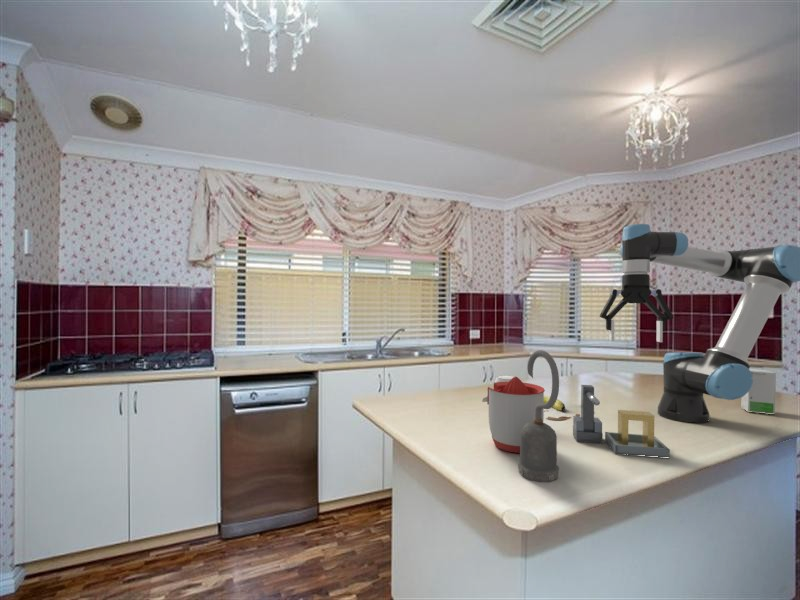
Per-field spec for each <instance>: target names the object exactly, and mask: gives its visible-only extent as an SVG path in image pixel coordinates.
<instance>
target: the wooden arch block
mask: <svg viewBox="0 0 800 600" xmlns="http://www.w3.org/2000/svg"><path fill="white" fill-rule="evenodd" d="M629 421H637V422H639V421H640V422H642V435H643V446H645V447H654V436H655V415H654V414H653V413H651V412H650V411H641V410H640V411H639V410H628V409H627V410H626V409H617V433H618V444H621V445H628V434H629Z"/></svg>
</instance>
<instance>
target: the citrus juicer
mask: <svg viewBox="0 0 800 600" xmlns="http://www.w3.org/2000/svg"><path fill="white" fill-rule="evenodd" d="M545 391H546V390H545V388H544V387H542V386H540V385H537V384H533V383H530V382H529V383H528V382H523V381H522V379H520V378H519V377H518V376H516V377H513V378H512V379H511V380H510V381H509V382H496V383H495V382H493V388H492V387H490V386H487V395H486V396H485V397H483V398H482V400H481V402H482V403H486V402H487V405H488V423H489V424H488V425H489V431H490V435H491V438H492V441H493V443H494V446H495V447H497V448H498V449H499V450H503V451H506V452H509V453H517V454H520V432H521V429H522V427H523V426H525V425H526V424H527V423H530V422H534V418H535V408H536V406H537V405H538V404H542V403H544V396H545V393H544V392H545ZM544 411H545V409H542V421H543V422H544V416H545V414H544V413H545V412H544Z"/></svg>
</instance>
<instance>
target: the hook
mask: <svg viewBox="0 0 800 600" xmlns="http://www.w3.org/2000/svg"><path fill="white" fill-rule="evenodd" d="M539 357H541V358H542V357H543V358H544V359H545V361H546V362H547V363H548V365H549V368H550V370H551V371H550V372H551V393H550V396H549V397H550V399H549V401H548V402H547V403H542V404H538V405H537V406H536V408H535V418H534V422H530V423H527V424H526V425H525V426H523V427H522V429H521V432H520V453H519V460H518V461H517V466H518V467H517V468H518V473H519V474H520V475H521V476H522V477H524V478H526V479H528V480H530V481H531V480H532V481H535V482H540V483H541V482H543V483H546V482H553V481H555V480H556V479H558V478H559V477H558V476H559V471H560V467H559V466H558V464H557V459H558V456H557V455H558V454H557V453H558V450H557V446H558V443H557V442H558V441H557V440H558V438H557V437H558V436H557V433H556V431H555V429H554V428H552V426H551V425H549V424H547V423H545V422H544V420H543V421H542V409H544V410H551V409H552V407H553V406H554V404H555V402H556V400H557V399H558V397H559V391H560V390H559V389H560V375H559V369H558V366H557V363H556V361H555V360H554V358H553V356H552V355H551V354H550V353H549V352H548V351H545V350H541V349H540V350H539V349H538V350H536V351H534V352H533V353H532V354H531V355H530V357H529V358H528V361H527V368H526V369H527V370H526V371H527V374H528V375H529V376H530V377H531V378H532V379H533V378H534V375H533V374H534V364H535V361H536V360H537V358H539Z"/></svg>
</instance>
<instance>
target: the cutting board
mask: <svg viewBox="0 0 800 600" xmlns="http://www.w3.org/2000/svg"><path fill="white" fill-rule="evenodd" d="M549 399H550V396H549V395H544V403H547V402H548V401H549ZM552 408H553V409H555V410H556V411H558V412H562V411H564V410H565V403H563V401H562V400H560V399H558V398H557V400H556V402H555V404H554V406H553V407H552ZM552 408H551V412H553V409H552ZM546 412H548V409H544V413H546ZM574 416H580V417H581V413H576V414H575V415H574ZM545 419H546V420H548V421H549V420H550V421H564V420H568V419H573V416H572V417H571V416H566V415H565V416H559V417H554V416H553V417H552V416H547V417H546V418H545Z"/></svg>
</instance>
